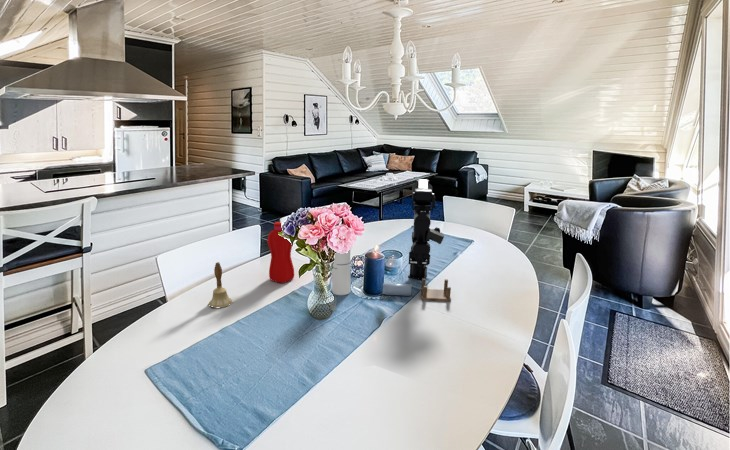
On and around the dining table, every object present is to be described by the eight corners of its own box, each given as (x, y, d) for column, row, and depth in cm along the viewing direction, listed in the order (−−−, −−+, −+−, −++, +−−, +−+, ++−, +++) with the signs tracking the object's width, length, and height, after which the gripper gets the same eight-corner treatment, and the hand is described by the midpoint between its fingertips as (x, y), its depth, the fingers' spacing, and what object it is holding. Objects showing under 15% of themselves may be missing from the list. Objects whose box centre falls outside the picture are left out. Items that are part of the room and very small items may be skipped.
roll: (382, 296, 149) (382, 285, 149) (382, 292, 154) (382, 282, 153) (411, 297, 149) (411, 286, 148) (410, 293, 153) (410, 283, 152)
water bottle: (300, 276, 167) (298, 220, 160) (282, 285, 158) (279, 226, 151) (284, 271, 171) (282, 217, 164) (266, 280, 162) (262, 222, 156)
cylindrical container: (347, 296, 149) (348, 234, 142) (330, 294, 151) (329, 233, 144) (352, 288, 156) (352, 229, 149) (335, 286, 157) (334, 227, 150)
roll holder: (422, 300, 147) (423, 287, 145) (420, 291, 154) (421, 278, 153) (450, 301, 146) (451, 288, 145) (447, 292, 154) (448, 279, 152)
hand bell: (232, 297, 147) (229, 257, 143) (232, 307, 139) (228, 265, 135) (209, 299, 145) (205, 259, 140) (207, 310, 137) (203, 268, 133)
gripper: (446, 231, 134) (442, 272, 138) (441, 217, 152) (438, 254, 156) (413, 229, 135) (411, 271, 139) (412, 216, 153) (410, 253, 157)
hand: (419, 262), depth 148 cm, fingers open, 9 cm apart
